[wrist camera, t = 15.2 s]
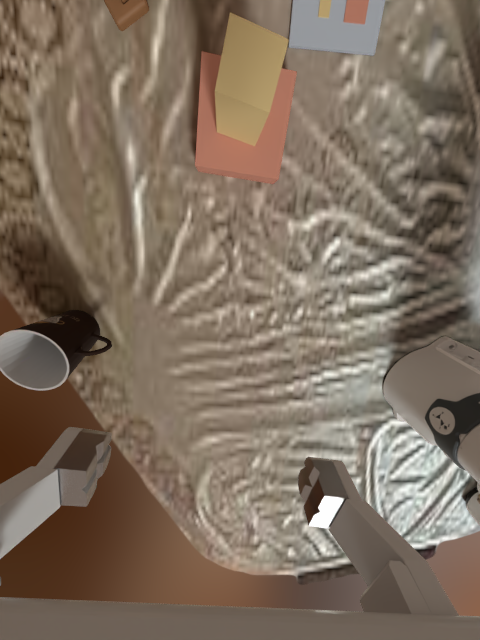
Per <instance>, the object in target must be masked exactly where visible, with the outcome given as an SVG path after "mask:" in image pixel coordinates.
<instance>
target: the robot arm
mask: <svg viewBox="0 0 480 640" xmlns="http://www.w3.org/2000/svg"><path fill="white" fill-rule="evenodd" d="M383 392H384V396H385V399H386V400H387V402H388V403H389V404H390V405H391V406H392V408H393V413H394V416H395V418H397V419H398V420H399V421H402V422H404V421H406V422H407V423H408V424H409V425H410V426H411V427H412V428H413V429H414V430H415V431H416V432H417V433H419V434H420V435H421V436H422V437H423V438H424V439H425V440H426V441H427V442H428V443H430V444H431V445H436V446H439V447H440V449H441V450H442V451H443V452H444V454H445V455H446V456H447V457H448V458H449V459H450V460H452V461H453V462H454V463H455V464H456V465H457V466H459V467H460V468H462V469H464V470H466V471H467V472H468V473H469V474H470V475H471V476H472V477H473V478H474V479H475V480H476V481H477V482H478V483H479V484H480V351H477V350H475V349H473V348H471V347H469V346H467V345H465V344H462V343H460V342H458V341H456V340H454V339H452V338H449V337H446V336H444V337H441V338H439V339H438V340H436V341H435V342H433V343H432V344H430V345H429V346H427V347H425V348H422V349H419V350H416V351H414V352H411V353H409V354H408V355H406V356H404V357H403V358H402V359H400V360H399V361H398V362H397V363H396V364H395V365H394V366H393V367H392V368H391V370H390V371H389V372H388V374H387V376H386V378H385V381H384V386H383ZM110 441H111V433H108V432H102V431H95V430H89V429H81V428H73V427H69V428H67V429H66V430H65V431H64V432H63V433H62V435H61V436H60V437H59V438H58V440H57V441H56V442H55V444H54V445H53V446H52V447H51V449H50V450H49V451H48V452H47V453H46V455H45V456H44V457H43V458H42V460H41V461H40V462H39V464H38V465H37V466H36V467H29V468H28V469H26V470H24V471H23V472H21V473H19V474H18V475H16V476H14V477H12V478H11V479H9V480H7V481H5V482H4V483H2V484H0V559H1V558H2V557H3V556H4V555H5V554H6V553H8V552H9V551H10V550H11V549H12V548H13V547H15V546H16V545H17V544H18V543H19V542H20V541H21V540H22V539H24V538H25V537H26V536H27V535H28V534H30V533H31V532H32V531H33V530H34V529H35V528H36V527H38V526H39V525H40V524H41V523H42V522H43V521H44V520H46V519H47V518H48V517H49V516H50V515H51V514H53V513H54V512H55V511H56V510H57V509H58V508H60V505H68V506H69V505H70V506H87V505H88V503H89V501H90V499H91V497H92V495H93V493H94V491H95V489H96V487H97V479H98V478H99V477H100V476H102V475H103V473H104V471H105V469H106V467H107V464H108V461H109V458H110V454H111V447H110V446H109V443H110ZM304 464H305V468H303V469H301V471H300V473H299V477H298V486H299V492H300V495H301V496H302V498H303V499H304V500H305V504H304V510H305V514H306V518H307V521H308V525H309V526H315V527H323V528H329V531H330V532H331V534H332V535H333V536H334V538H335V539H336V541H337V542H338V544H339V545H340V546H341V548H342V549H343V551H344V552H345V554H346V555H347V557H348V558H349V559H350V561H351V562H352V564H353V565H354V567H355V568H356V569H357V571H358V572H359V574H360V575H361V576H362V578H363V579H364V581H365V582H366V584H367V585H368V588H367V590H366V591H365V592H364V593H363V594H362V596H361V598H360V603H361V606H362V608H363V612H354V611H328V610H304V609H279V608H254V607H229V606H204V605H203V606H202V605H180V604H154V603H130V602H104V601H79V600H54V599H28V598H3V597H2V598H1V597H0V640H480V617H477V616H459V615H458V613H457V611H456V610H455V608H454V606H453V605H452V603H451V601H450V600H449V598H448V596H447V595H446V593H445V591H444V589H443V588H442V586H441V584H440V583H439V581H438V579H437V578H436V576H435V574H434V572H433V571H432V569H431V567H430V566H429V564H428V562H427V561H426V560H425V559H424V558H423V557H422V556H421V555H420V554H419V553H418V552H417V551H416V550H415V549H414V548H413V547H412V546H411V545H410V544H409V543H408V542H407V541H406V540H404V539H403V538H402V537H401V536H400V535H399V534H398V533H397V532H396V531H395V530H394V529H393V528H392V527H391V526H390V525H389V524H388V523H387V522H386V521H385V520H384V519H383V518H382V517H381V516H380V515H379V514H378V513H377V512H376V511H375V510H374V509H373V508H372V507H371V506H370V505H369V504H368V503H367V502H366V501H362V499H361V497H360V495H359V493H358V491H357V489H356V487H355V485H354V483H353V481H352V479H351V477H350V475H349V473H348V471H347V469H346V467H345V465H344V463H343V462H342V461H338V460H329V459H323V458H313V457H308V458H306V460H305V462H304ZM0 585H1V578H0Z"/></svg>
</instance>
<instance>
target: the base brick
mask: <svg viewBox="0 0 480 640" xmlns="http://www.w3.org/2000/svg"><path fill="white" fill-rule="evenodd" d="M220 61H221V55H217V54H212V53H207V52H203V51H202V55H201V73H200V90H199V107H198V124H197V142H196V159H195V166H196V168H197V169H198V171H199V172H204V173H210V174H216V175H222V176H228V177H234V178H240V179H246V180H252V181H258V182H264V183H270V184H274V183H275V182H276V181H277V180H278V179H279V173H280V167H281V162H282V156H283V150H284V144H285V138H286V132H287V127H288V121H289V115H290V109H291V103H292V97H293V92H294V86H295V80H296V74H297V71H292V70H287V69H283V68H281V72H280V76H279V79H278V83H277V87H276V91H275V94H274V98H273V102H272V106H271V109H270V113H269V115H268V118H267V120H266V122H265V125H264V127H263V129H262V131H261V134H260V136H259V138H258V141H257V143H256V145H255V146H252V145H250V144H247V143H244V142H242V141H239V140H236V139H234V138H231V137H228V136H226V135H223V134H220V133H218V132H217V126H216V106H215V87H216V82H217V77H218V72H219V66H220Z"/></svg>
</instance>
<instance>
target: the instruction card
mask: <svg viewBox="0 0 480 640" xmlns="http://www.w3.org/2000/svg"><path fill="white" fill-rule="evenodd" d="M384 3H385V0H293V1H292V12H291V24H290V35H289V46H288V47H289V48H300V49H310V50H320V51H331V52H341V53H351V54H362V55H372V56H373V55H374V54H375V50H376V45H377V40H378V34H379V29H380V24H381V19H382V14H383V8H384Z"/></svg>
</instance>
